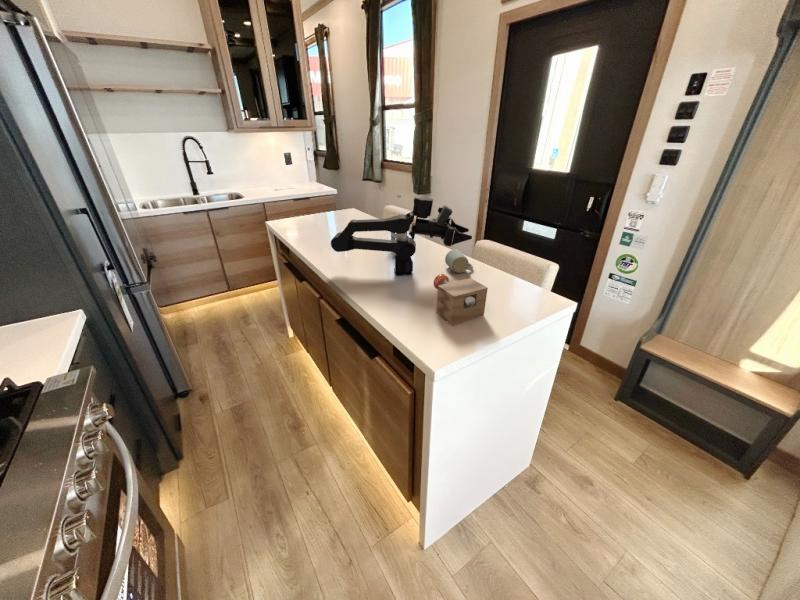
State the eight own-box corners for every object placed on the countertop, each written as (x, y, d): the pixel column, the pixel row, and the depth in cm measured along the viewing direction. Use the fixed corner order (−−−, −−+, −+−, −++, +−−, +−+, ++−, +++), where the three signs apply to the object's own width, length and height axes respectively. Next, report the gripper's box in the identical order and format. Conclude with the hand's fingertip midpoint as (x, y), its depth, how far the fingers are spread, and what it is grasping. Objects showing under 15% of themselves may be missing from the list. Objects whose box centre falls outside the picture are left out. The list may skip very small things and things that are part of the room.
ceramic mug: (451, 275, 125) (453, 256, 121) (444, 267, 132) (445, 249, 128) (476, 272, 127) (479, 254, 124) (467, 265, 134) (469, 247, 131)
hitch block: (436, 313, 99) (437, 285, 94) (467, 304, 104) (470, 277, 99) (451, 325, 93) (454, 296, 88) (483, 315, 97) (487, 287, 93)
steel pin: (433, 290, 104) (433, 275, 102) (446, 287, 106) (447, 272, 104) (463, 312, 92) (465, 296, 89) (477, 308, 94) (479, 292, 91)
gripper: (433, 211, 106) (479, 218, 106) (431, 200, 122) (471, 206, 123) (427, 243, 111) (471, 250, 111) (426, 229, 128) (465, 234, 128)
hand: (470, 233), depth 118 cm, fingers open, 9 cm apart
